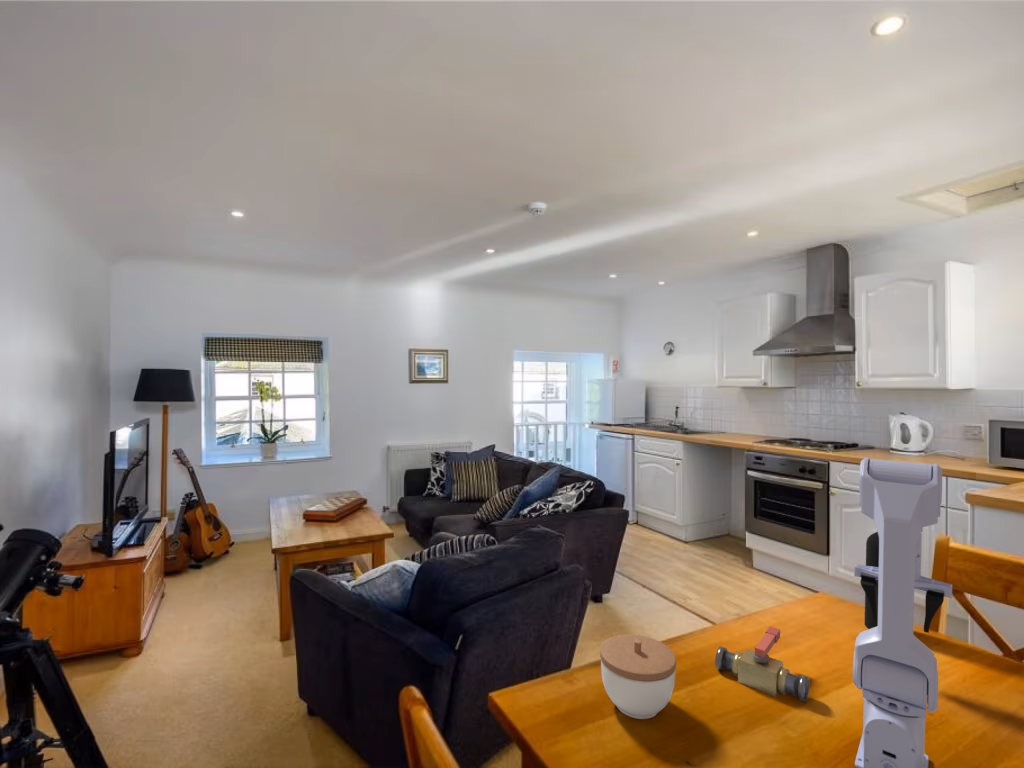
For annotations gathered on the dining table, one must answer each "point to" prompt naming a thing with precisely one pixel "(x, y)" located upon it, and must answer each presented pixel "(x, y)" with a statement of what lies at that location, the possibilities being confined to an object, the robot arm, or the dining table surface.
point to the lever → (766, 645)
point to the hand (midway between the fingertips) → (900, 623)
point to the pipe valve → (762, 674)
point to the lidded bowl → (637, 674)
